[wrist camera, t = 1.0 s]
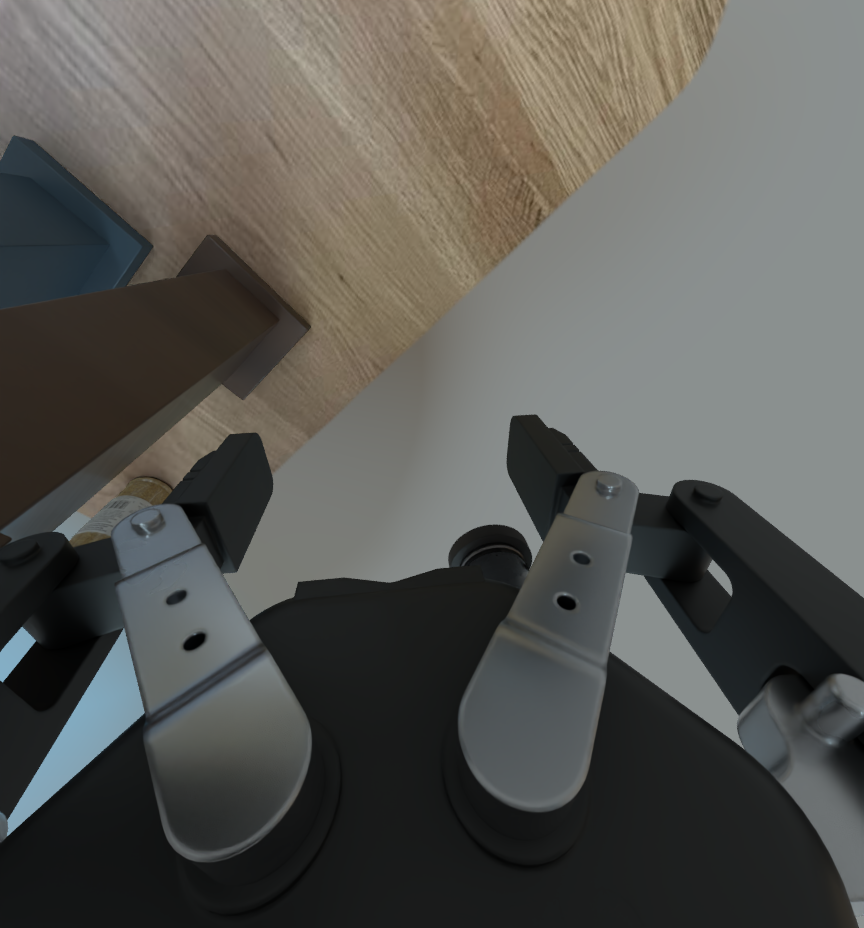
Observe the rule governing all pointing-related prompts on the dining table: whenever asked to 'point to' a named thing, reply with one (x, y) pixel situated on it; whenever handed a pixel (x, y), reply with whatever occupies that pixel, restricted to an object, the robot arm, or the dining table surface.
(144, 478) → the sprinkles bottle
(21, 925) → the robot arm
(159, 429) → the tall stand
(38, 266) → the low stand
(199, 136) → the dining table surface
